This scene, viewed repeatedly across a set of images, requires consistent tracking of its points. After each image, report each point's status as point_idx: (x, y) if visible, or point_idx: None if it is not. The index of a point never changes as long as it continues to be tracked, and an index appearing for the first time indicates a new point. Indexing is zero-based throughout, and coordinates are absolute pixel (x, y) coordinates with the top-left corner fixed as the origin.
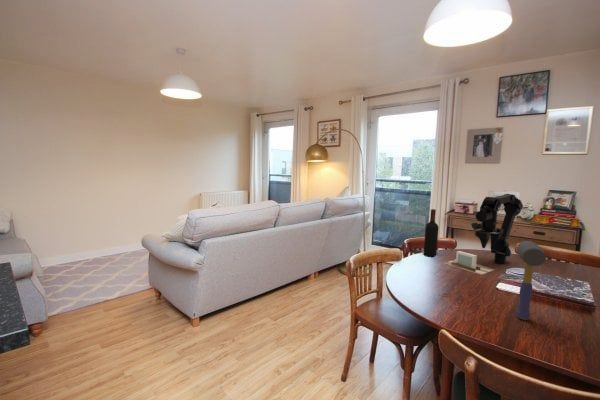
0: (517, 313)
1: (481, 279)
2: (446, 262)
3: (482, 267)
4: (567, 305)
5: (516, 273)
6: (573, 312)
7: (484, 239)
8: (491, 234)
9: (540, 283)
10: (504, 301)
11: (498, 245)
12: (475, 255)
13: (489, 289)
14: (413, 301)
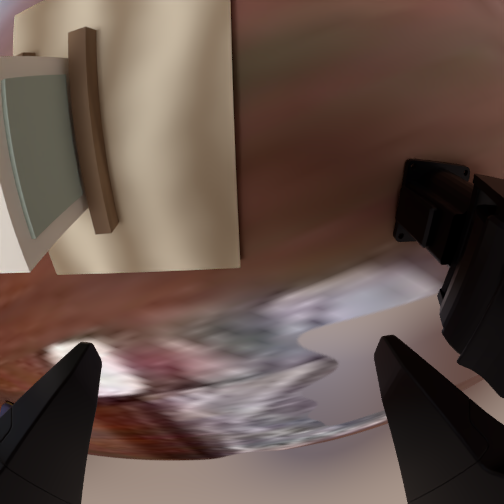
0: (1, 407)
1: (40, 287)
2: (34, 9)
3: (189, 198)
4: (155, 445)
5: (321, 326)
6: (132, 448)
7: (27, 491)
8: (489, 501)
9: (266, 400)
10: (16, 380)
11: (479, 323)
12: (19, 261)
13: (15, 341)
14: None
